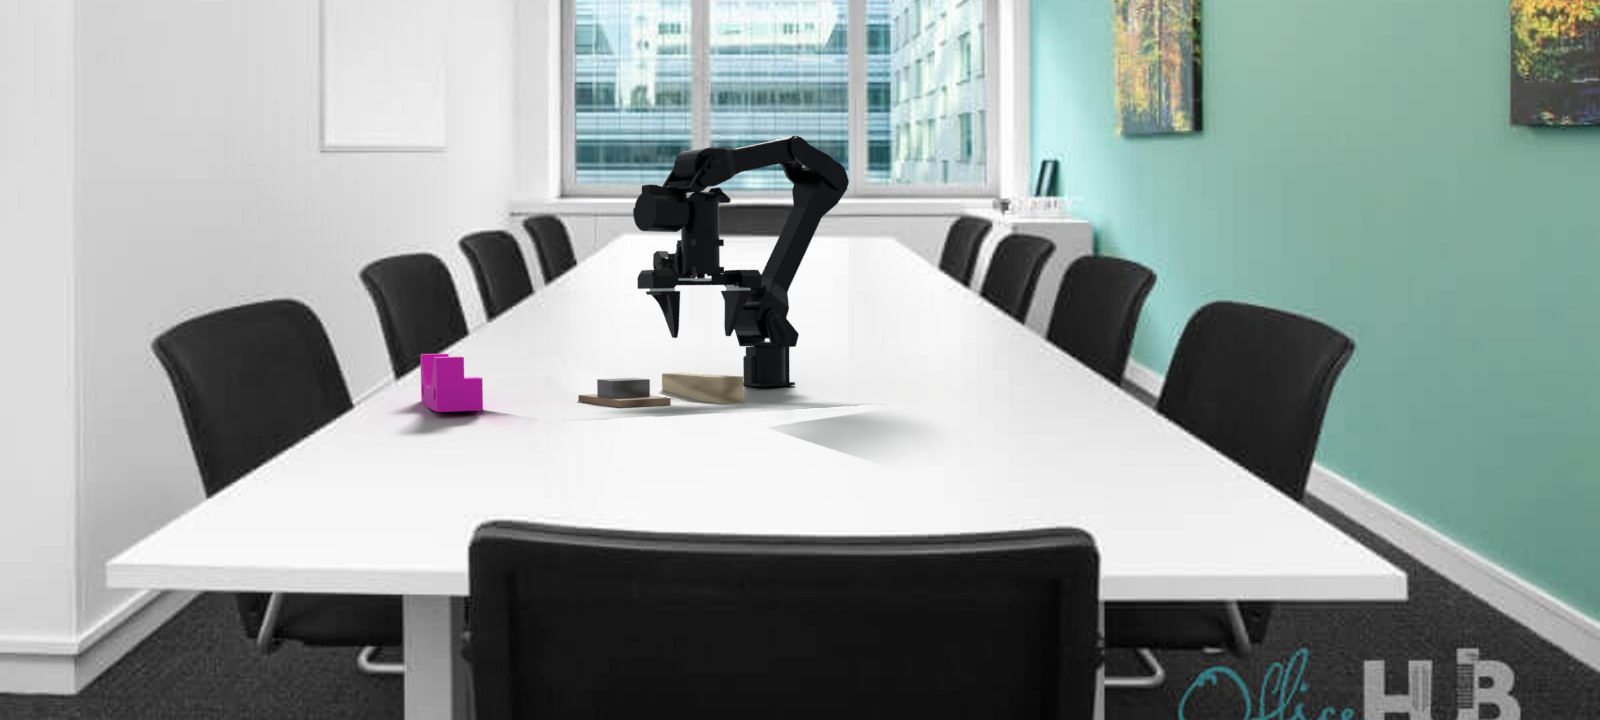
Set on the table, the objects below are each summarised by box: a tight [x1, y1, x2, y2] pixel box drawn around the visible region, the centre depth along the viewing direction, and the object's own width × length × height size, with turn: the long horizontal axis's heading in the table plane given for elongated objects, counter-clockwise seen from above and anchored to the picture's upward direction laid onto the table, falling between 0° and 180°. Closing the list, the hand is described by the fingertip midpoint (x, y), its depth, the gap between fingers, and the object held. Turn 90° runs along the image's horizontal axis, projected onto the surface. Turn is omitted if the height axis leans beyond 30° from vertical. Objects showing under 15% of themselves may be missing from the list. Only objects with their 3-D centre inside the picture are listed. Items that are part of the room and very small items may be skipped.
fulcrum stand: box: [578, 377, 672, 409], centre depth 196 cm, size 8×14×4 cm, turn 33°
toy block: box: [420, 353, 484, 413], centre depth 194 cm, size 15×6×8 cm, turn 24°
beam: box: [661, 372, 745, 404], centre depth 203 cm, size 4×16×4 cm, turn 38°
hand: (701, 337), depth 203 cm, fingers open, 9 cm apart
